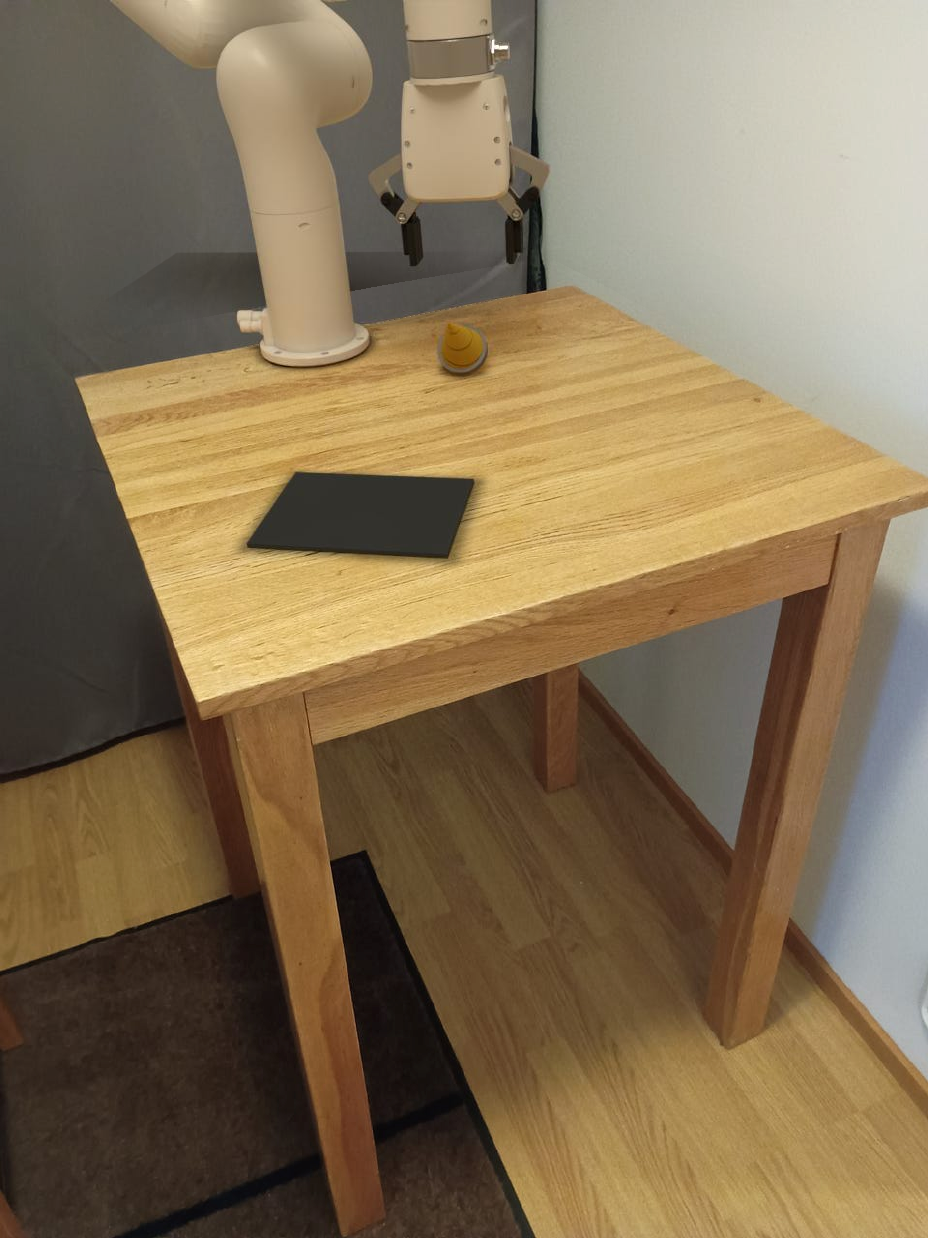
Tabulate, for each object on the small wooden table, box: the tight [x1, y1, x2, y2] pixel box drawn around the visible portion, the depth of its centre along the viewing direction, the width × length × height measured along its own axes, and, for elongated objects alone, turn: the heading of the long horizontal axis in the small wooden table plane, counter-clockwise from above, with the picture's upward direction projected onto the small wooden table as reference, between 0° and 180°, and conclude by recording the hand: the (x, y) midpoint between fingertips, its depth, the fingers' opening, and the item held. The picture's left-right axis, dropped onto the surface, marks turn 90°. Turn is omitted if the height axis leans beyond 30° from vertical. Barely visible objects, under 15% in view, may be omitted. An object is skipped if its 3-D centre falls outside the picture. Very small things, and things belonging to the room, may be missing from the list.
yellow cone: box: [436, 322, 489, 377], centre depth 97 cm, size 5×5×10 cm
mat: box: [246, 471, 475, 559], centre depth 76 cm, size 16×12×1 cm
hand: (464, 261), depth 92 cm, fingers open, 9 cm apart
